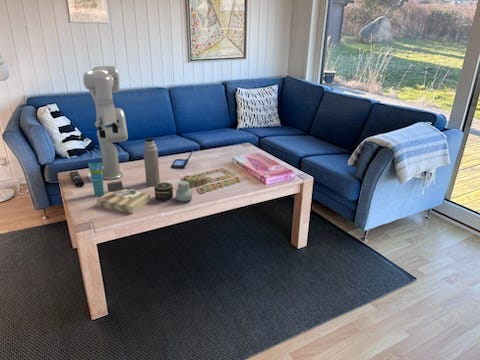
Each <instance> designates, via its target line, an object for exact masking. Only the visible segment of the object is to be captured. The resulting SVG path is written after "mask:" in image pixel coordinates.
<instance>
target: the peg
mask: <svg viewBox="0 0 480 360" xmlns="http://www.w3.org/2000/svg"><path fill="white" fill-rule="evenodd" d="M106 185H107V191H108V193H109V192H113V194H114V196H117V195H118V194H120V193H125V192H130V191H134V190H135V188H132V189H131V190H128V189H126V190H127V191H121V192H118V191H119V190H123V189H124V188H123V182H122V181H121V180H118V181H113V182H107V183H106Z"/></svg>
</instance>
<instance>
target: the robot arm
mask: <svg viewBox="0 0 480 360" xmlns="http://www.w3.org/2000/svg"><path fill="white" fill-rule="evenodd" d="M82 78H83V79H82V81H83V85H84V87H85V89H87V90H88V92H89V93H90V96H91V98H92V99H93V102H94V105H95V113H96V121H95V122H94V125H95V128H96V129H97V131H96V136H97V139H98V143H99V146H100V147H99V148H100V153H101V160H102V176H103V180H109V181H110V180H111V181H112V180H117V179H120V178H122V177H123V175H124V174H123V172H122V171H121V170H120V163H119V153H118V149H117V147H116V145H115V144H113V143H122V142H126V141H127V140H128V137H129V135H128V128H127V121H126V115H125V112H124V110H123V108H119V107H117V108H116V107H115V104H114V98H113V94H114V93H118V92H119V91H120V74H119V70H118V69H117V67H116V66H113V65H100V66H95V67H93V68H92V69H91V70H89V71H86V72H84V73H83V77H82Z"/></svg>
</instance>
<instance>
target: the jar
mask: <svg viewBox="0 0 480 360" xmlns="http://www.w3.org/2000/svg"><path fill="white" fill-rule="evenodd" d="M153 187H154V188H153V189H154V198H155V199H156V200H157V201H158V202H169V201H171V200H172V199H173V196H174V187H173V184H172V183H171V182H160V183H158V184H156V185H155V186H153Z"/></svg>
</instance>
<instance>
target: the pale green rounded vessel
mask: <svg viewBox="0 0 480 360" xmlns="http://www.w3.org/2000/svg"><path fill="white" fill-rule="evenodd" d="M177 185H178V186H177V187H178V188H177V189H176V190H175V191H176V192H175V199H176V200H177V201H179V202H188V201H191V200H192V198H193V188H189V182H188V181H183V180H181V181H179V182H178V184H177Z"/></svg>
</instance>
